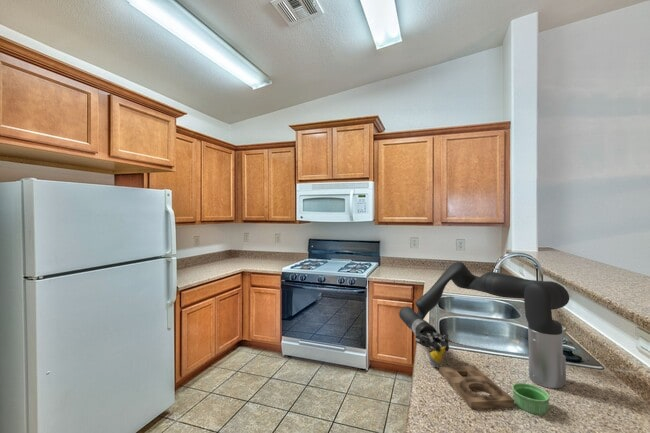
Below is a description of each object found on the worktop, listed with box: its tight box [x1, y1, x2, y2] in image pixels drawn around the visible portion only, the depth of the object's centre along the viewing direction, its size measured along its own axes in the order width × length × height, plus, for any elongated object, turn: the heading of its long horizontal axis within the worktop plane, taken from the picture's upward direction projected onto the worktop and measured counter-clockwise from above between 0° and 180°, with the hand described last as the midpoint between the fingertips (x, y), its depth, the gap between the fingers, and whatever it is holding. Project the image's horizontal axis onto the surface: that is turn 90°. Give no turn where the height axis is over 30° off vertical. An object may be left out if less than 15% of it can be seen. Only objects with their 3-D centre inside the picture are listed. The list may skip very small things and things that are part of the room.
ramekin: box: [512, 382, 551, 416], centre depth 86 cm, size 9×9×4 cm
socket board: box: [438, 365, 515, 410], centre depth 95 cm, size 13×20×2 cm, turn 4°
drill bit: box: [427, 346, 446, 368], centre depth 108 cm, size 5×5×10 cm
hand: (443, 348), depth 106 cm, fingers closed on drill bit, 2 cm apart
